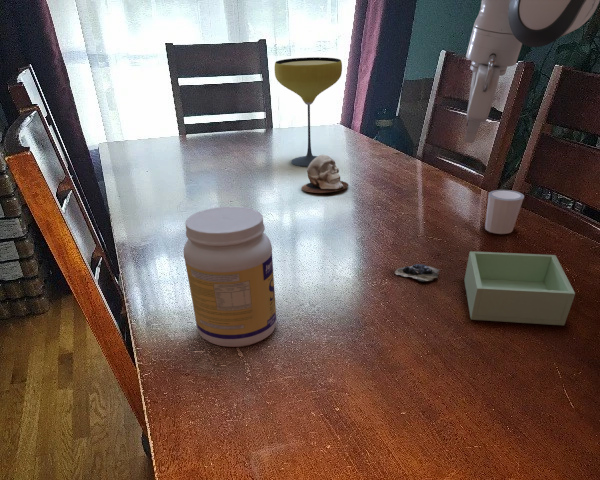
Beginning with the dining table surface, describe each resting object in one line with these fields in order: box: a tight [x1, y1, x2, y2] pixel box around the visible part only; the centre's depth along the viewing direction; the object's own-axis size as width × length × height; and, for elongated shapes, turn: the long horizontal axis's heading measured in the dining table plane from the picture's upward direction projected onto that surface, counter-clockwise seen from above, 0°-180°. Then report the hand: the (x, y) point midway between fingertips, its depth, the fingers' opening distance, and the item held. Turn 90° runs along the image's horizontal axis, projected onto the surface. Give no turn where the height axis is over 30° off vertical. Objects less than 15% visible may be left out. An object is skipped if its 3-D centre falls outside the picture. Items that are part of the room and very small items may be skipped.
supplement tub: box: [183, 205, 278, 348], centre depth 73 cm, size 12×12×17 cm
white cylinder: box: [484, 189, 525, 235], centre depth 104 cm, size 7×7×7 cm
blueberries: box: [394, 263, 441, 283], centre depth 90 cm, size 7×8×2 cm
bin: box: [464, 251, 576, 326], centre depth 81 cm, size 14×14×5 cm
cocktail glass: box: [274, 56, 343, 168], centre depth 143 cm, size 18×18×25 cm
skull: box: [301, 154, 349, 194], centre depth 130 cm, size 12×10×10 cm
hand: (469, 133), depth 99 cm, fingers open, 8 cm apart
